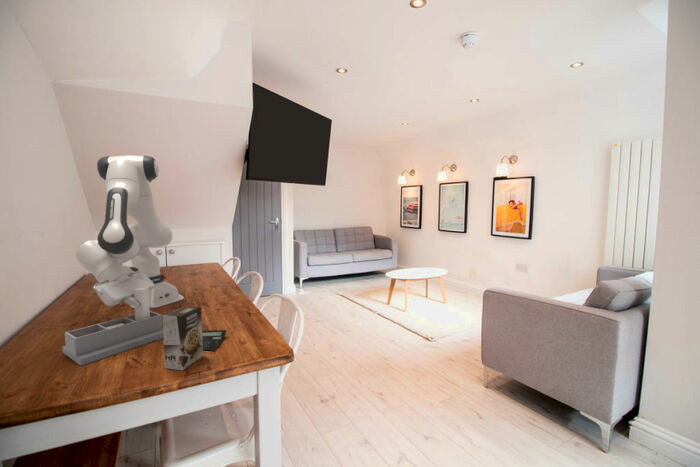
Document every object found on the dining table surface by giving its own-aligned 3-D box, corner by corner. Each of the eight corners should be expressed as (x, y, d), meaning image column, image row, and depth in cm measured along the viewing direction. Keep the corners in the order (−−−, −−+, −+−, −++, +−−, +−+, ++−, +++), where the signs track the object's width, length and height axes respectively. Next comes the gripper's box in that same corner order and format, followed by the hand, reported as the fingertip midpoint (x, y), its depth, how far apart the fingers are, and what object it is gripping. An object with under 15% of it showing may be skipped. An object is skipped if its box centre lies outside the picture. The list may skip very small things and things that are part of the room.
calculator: (185, 353, 101) (185, 344, 101) (199, 338, 112) (199, 330, 112) (215, 352, 102) (214, 343, 101) (226, 337, 113) (226, 329, 113)
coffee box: (183, 370, 89) (180, 316, 88) (164, 368, 91) (161, 314, 89) (204, 356, 98) (202, 306, 97) (186, 354, 100) (184, 305, 98)
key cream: (122, 328, 110) (121, 323, 110) (128, 331, 108) (127, 325, 107) (106, 333, 106) (106, 327, 106) (112, 336, 104) (111, 330, 104)
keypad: (146, 327, 122) (145, 308, 121) (167, 336, 113) (166, 316, 113) (62, 352, 101) (60, 330, 101) (80, 365, 92) (78, 341, 92)
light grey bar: (142, 322, 115) (139, 287, 114) (150, 322, 115) (148, 287, 114) (135, 325, 112) (133, 289, 111) (144, 325, 112) (142, 290, 111)
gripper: (96, 278, 102) (127, 307, 102) (141, 266, 122) (166, 291, 123) (84, 291, 103) (115, 320, 103) (131, 277, 123) (156, 302, 123)
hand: (143, 304), depth 113 cm, fingers closed on light grey bar, 3 cm apart
